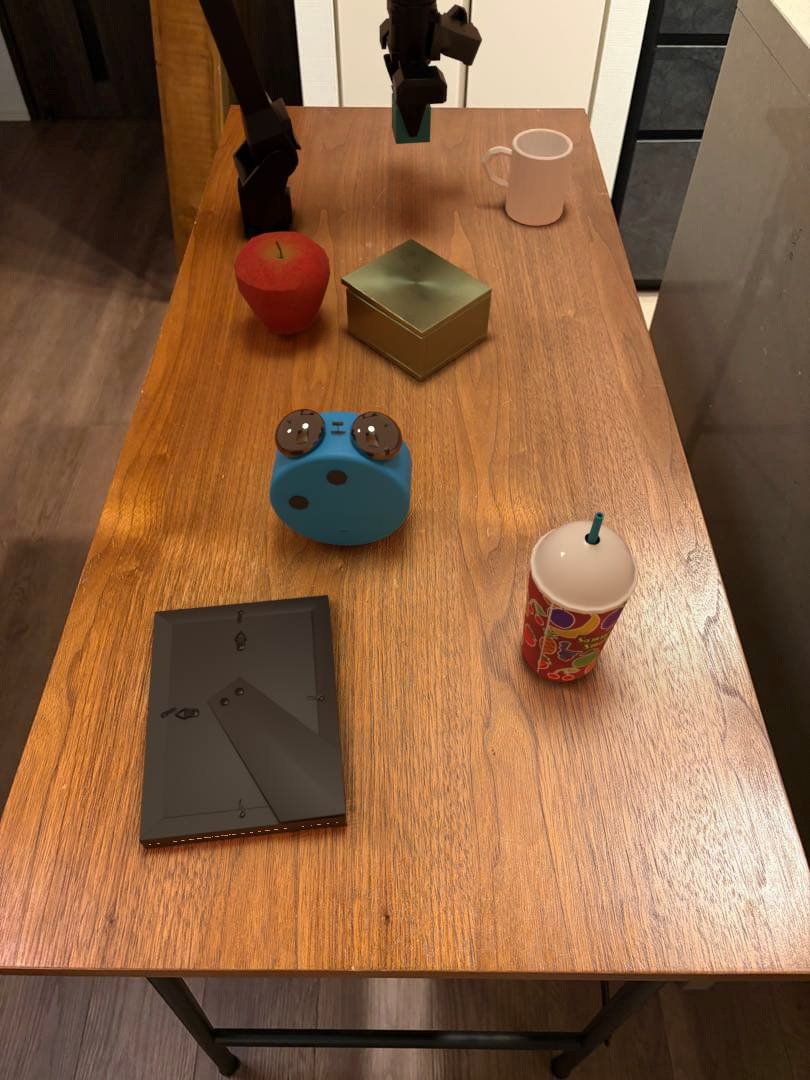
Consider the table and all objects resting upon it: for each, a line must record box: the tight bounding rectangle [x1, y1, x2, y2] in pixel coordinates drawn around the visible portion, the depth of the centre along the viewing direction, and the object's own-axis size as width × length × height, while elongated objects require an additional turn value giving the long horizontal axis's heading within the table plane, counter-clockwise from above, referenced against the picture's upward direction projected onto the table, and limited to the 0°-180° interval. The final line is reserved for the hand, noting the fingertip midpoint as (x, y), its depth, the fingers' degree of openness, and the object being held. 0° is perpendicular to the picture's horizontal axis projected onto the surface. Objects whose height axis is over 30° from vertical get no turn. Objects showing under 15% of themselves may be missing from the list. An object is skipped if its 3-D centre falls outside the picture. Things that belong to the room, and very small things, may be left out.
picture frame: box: [138, 594, 348, 850], centre depth 71 cm, size 16×3×21 cm
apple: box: [233, 231, 331, 336], centre depth 100 cm, size 11×11×12 cm
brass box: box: [345, 287, 492, 382], centre depth 101 cm, size 13×12×6 cm
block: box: [391, 92, 432, 145], centre depth 112 cm, size 5×5×5 cm
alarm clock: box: [268, 408, 413, 546], centre depth 80 cm, size 13×6×15 cm, turn 87°
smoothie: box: [520, 511, 640, 683], centre depth 69 cm, size 8×8×20 cm
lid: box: [340, 238, 493, 338], centre depth 99 cm, size 13×12×1 cm
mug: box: [481, 127, 574, 227], centre depth 117 cm, size 8×12×10 cm
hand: (410, 127), depth 113 cm, fingers closed on block, 4 cm apart
